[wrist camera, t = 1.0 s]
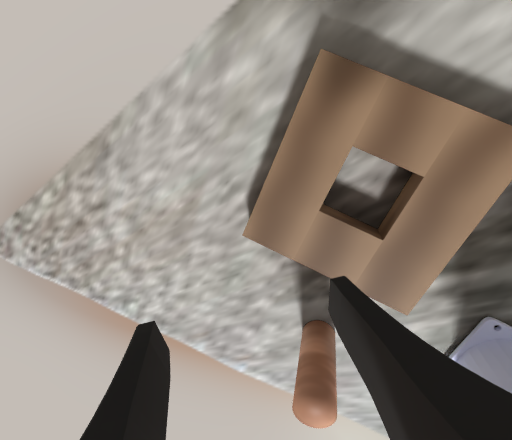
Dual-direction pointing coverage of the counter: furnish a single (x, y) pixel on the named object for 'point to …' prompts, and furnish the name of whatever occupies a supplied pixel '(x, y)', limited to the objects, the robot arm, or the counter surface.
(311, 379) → the terracotta peg
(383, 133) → the walnut socket plate
